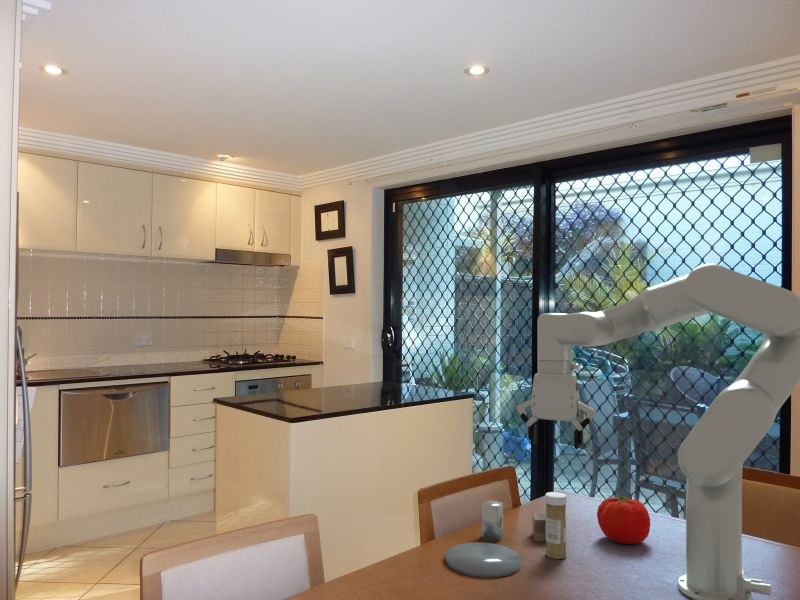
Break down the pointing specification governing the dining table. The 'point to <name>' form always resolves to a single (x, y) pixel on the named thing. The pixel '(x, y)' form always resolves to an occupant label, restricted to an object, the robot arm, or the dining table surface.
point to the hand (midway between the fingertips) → (555, 445)
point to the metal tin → (492, 520)
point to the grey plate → (483, 559)
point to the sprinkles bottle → (555, 525)
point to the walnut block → (539, 526)
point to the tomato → (624, 520)
